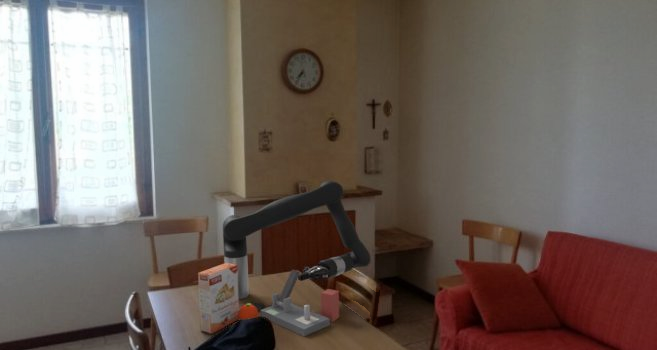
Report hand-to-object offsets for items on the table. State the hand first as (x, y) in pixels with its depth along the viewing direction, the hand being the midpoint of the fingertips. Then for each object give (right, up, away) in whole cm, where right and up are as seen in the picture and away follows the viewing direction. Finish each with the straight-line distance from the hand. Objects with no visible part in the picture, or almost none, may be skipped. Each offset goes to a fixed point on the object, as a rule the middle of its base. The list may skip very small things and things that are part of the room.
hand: (299, 278), depth 186 cm
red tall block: (+12, -13, -9) cm, 19 cm away
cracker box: (-27, -14, -13) cm, 33 cm away
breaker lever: (-6, -8, -6) cm, 12 cm away
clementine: (-17, -14, -11) cm, 25 cm away
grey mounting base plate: (-1, -13, -10) cm, 17 cm away
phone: (-19, -13, -1) cm, 23 cm away
